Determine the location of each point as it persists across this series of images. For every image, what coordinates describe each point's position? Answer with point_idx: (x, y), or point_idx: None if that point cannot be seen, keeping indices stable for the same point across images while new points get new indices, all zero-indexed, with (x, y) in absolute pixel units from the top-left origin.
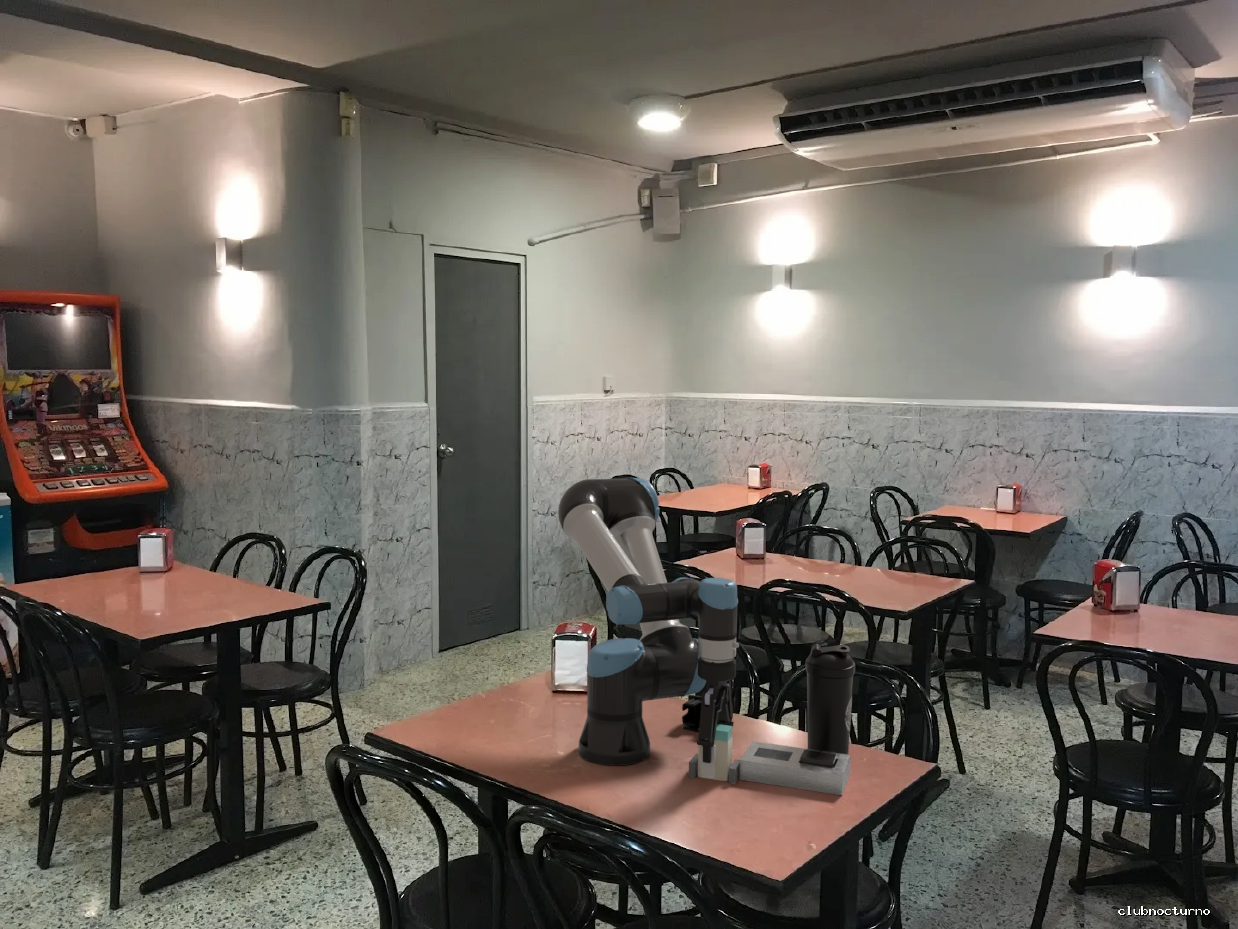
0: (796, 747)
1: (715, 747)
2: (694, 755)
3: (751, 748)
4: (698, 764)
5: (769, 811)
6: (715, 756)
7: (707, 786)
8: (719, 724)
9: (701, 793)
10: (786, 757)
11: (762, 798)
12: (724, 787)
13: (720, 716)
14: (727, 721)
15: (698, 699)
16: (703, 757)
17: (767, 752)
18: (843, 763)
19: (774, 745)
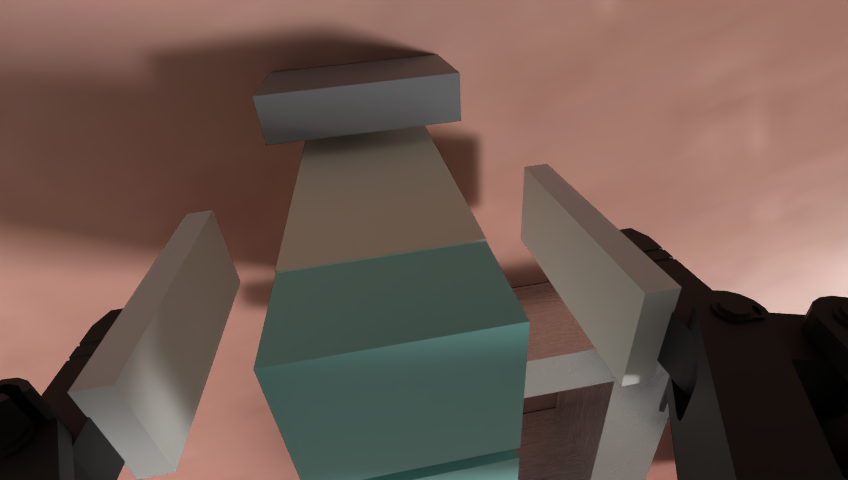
0: (648, 469)
1: (174, 454)
2: (412, 80)
3: (591, 364)
4: (304, 156)
5: (176, 475)
6: (205, 383)
7: (220, 224)
8: (515, 466)
9: (109, 235)
10: (581, 439)
11: (266, 426)
12: (268, 291)
13: (702, 454)
14: (675, 435)
15: None
16: (83, 348)
17: (597, 395)
18: None
19: (655, 414)
